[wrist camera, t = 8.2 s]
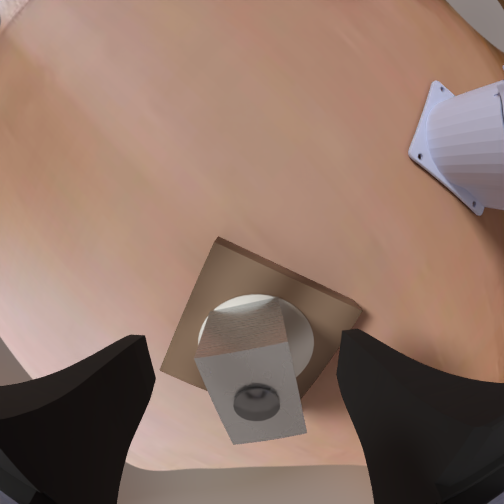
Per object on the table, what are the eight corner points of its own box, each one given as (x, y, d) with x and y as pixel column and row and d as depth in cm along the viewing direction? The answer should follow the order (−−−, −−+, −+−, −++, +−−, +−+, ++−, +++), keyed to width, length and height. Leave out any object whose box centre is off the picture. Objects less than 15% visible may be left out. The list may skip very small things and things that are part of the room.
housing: (296, 379, 19) (307, 436, 13) (237, 390, 19) (233, 447, 14) (278, 296, 18) (288, 345, 12) (209, 311, 18) (192, 361, 12)
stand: (353, 300, 20) (363, 312, 18) (284, 401, 22) (286, 418, 20) (218, 236, 19) (213, 242, 17) (166, 356, 21) (158, 371, 19)
